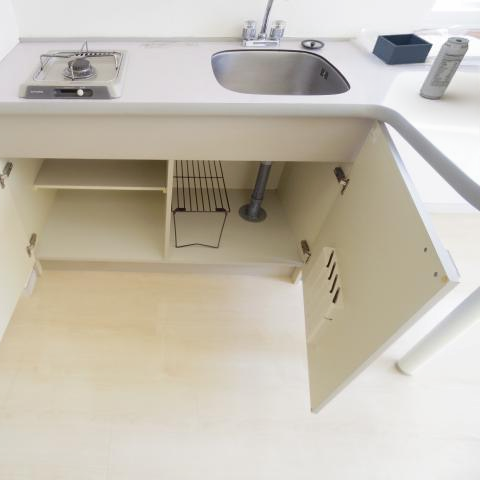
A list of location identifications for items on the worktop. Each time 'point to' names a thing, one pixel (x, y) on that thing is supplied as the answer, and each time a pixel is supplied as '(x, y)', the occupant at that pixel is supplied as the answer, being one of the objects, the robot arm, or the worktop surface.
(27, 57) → the worktop surface
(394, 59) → the bin
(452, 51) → the energy drink can
